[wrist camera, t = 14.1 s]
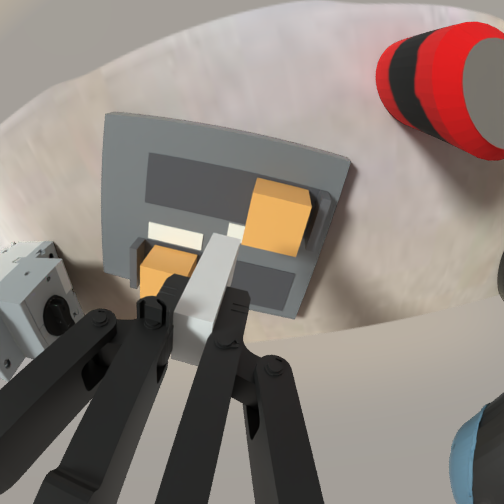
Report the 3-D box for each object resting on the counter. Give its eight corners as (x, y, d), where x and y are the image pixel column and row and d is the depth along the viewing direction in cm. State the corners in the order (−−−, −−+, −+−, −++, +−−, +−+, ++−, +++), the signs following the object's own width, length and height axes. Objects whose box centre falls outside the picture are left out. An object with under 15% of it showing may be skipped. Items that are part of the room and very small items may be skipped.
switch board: (347, 157, 24) (356, 168, 21) (294, 309, 32) (294, 333, 29) (114, 111, 23) (92, 117, 20) (110, 264, 32) (95, 283, 28)
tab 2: (308, 190, 24) (311, 206, 21) (295, 235, 26) (295, 257, 23) (257, 177, 24) (252, 192, 21) (246, 223, 26) (241, 244, 23)
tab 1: (197, 254, 28) (186, 277, 25) (192, 290, 30) (183, 314, 27) (155, 244, 28) (140, 265, 25) (153, 280, 30) (140, 302, 27)
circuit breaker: (111, 297, 34) (48, 397, 21) (31, 289, 36) (-30, 363, 23) (93, 240, 30) (7, 336, 17) (12, 241, 32) (-63, 311, 19)
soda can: (438, 143, 22) (524, 192, 12) (361, 103, 21) (422, 122, 11) (466, 69, 18) (562, 78, 8) (390, 23, 18) (465, -11, 7)
